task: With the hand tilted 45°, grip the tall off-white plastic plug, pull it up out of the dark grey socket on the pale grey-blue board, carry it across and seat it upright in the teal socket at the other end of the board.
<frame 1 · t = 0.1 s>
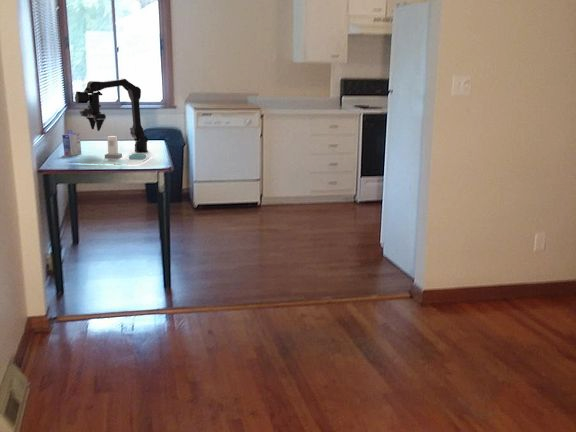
hand: (95, 130, 362), 15 cm above the table, tool pointing down, fingers open, 9 cm apart
ink cartridge box: (72, 154, 365), on the table
socket board: (125, 159, 351), on the table
plug: (113, 157, 351), point 1 cm above the table, touching socket board
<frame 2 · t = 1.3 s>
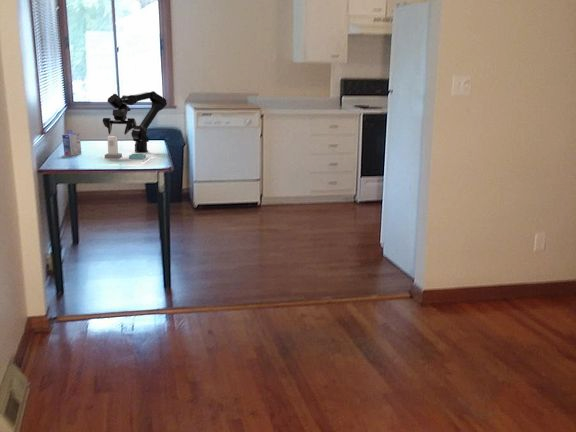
hand: (117, 134, 356), 13 cm above the table, tool tilted 45°, fingers open, 9 cm apart
nothing on the table moved.
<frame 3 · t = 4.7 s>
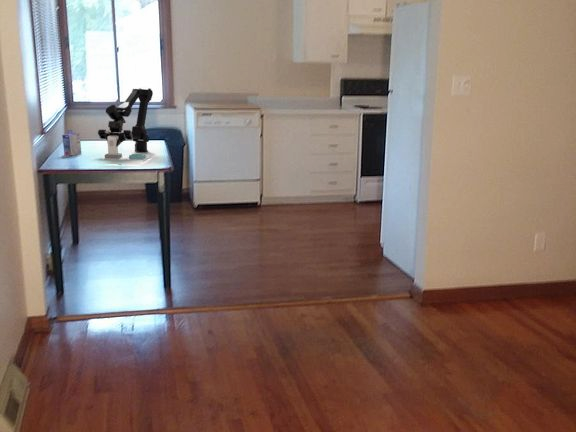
hand: (112, 146, 349), 8 cm above the table, tool tilted 45°, fingers closed on plug, 4 cm apart
plug: (113, 157, 351), point 1 cm above the table, touching gripper, socket board
everything else where it was.
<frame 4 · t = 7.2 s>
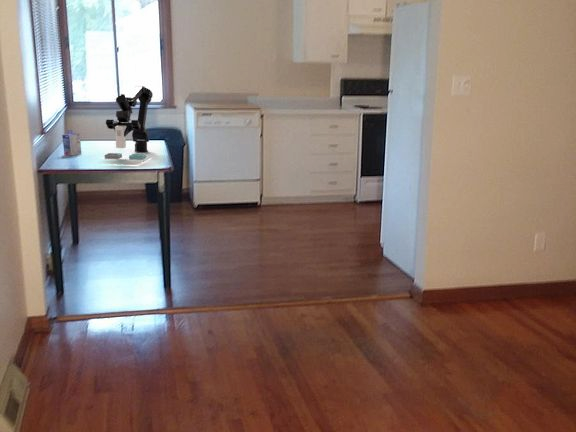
hand: (120, 136, 347), 13 cm above the table, tool tilted 45°, fingers closed on plug, 4 cm apart
plug: (121, 147, 349), point 7 cm above the table, touching gripper
everything else where it was.
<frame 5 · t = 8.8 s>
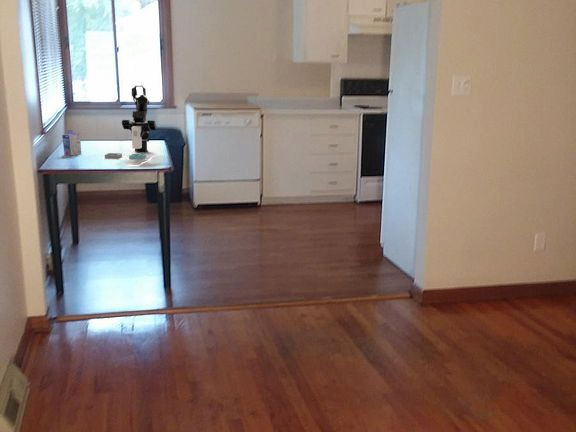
hand: (136, 136, 347), 13 cm above the table, tool tilted 45°, fingers closed on plug, 4 cm apart
plug: (137, 148, 349), point 7 cm above the table, touching gripper
everything else where it was.
when the fingers open (9 cm above the table, at t = 10.2 s): plug stays where it is, resting on socket board.
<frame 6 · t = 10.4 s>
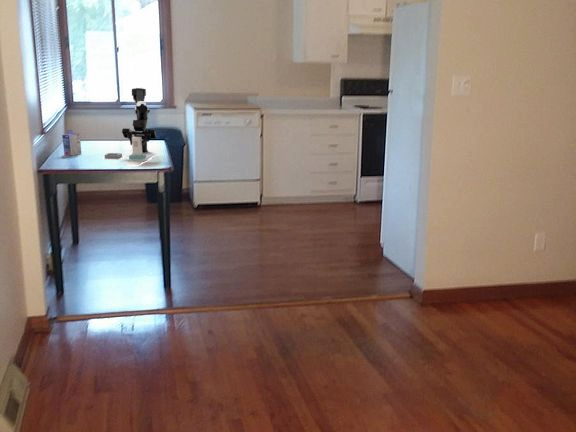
hand: (136, 145, 348), 9 cm above the table, tool tilted 45°, fingers open, 6 cm apart
plug: (137, 158, 350), point 1 cm above the table, touching socket board
everything else where it was.
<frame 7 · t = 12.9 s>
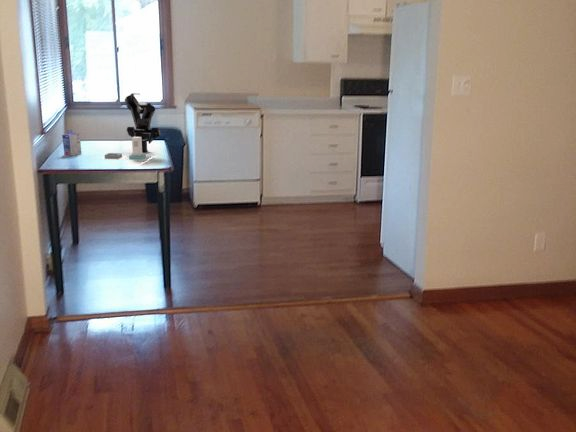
hand: (141, 143, 357), 8 cm above the table, tool tilted 45°, fingers open, 9 cm apart
nothing on the table moved.
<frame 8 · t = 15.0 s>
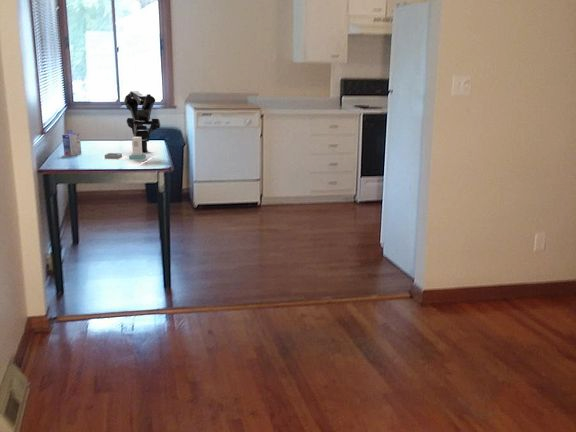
hand: (141, 134, 356), 14 cm above the table, tool tilted 45°, fingers open, 9 cm apart
nothing on the table moved.
at the end: plug 0.1 cm from the target spot on the socket board, point 1.0 cm above the socket board's base; plug tilted 0°; the gripper is holding nothing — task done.
